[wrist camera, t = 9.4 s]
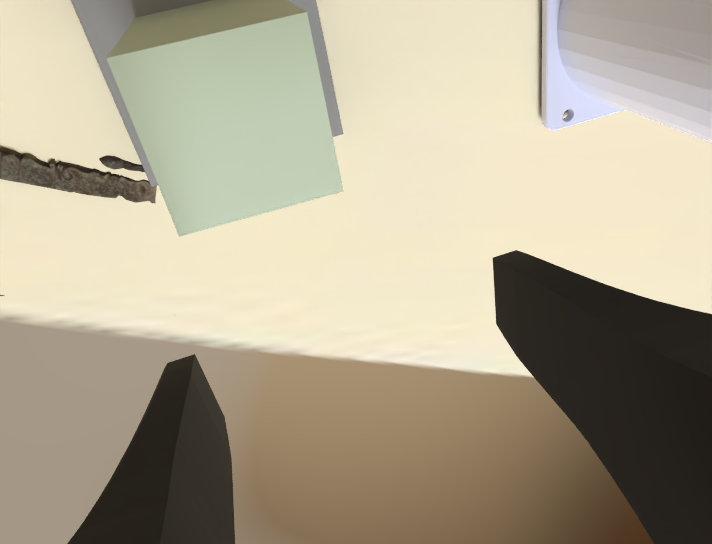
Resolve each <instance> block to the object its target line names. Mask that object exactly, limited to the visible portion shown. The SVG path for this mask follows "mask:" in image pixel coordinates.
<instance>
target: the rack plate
mask: <svg viewBox="0 0 712 544" xmlns="http://www.w3.org/2000/svg"><path fill="white" fill-rule="evenodd" d="M207 1H212V0H71V2H72V4H73V6H74V9H75V11H76V13H77V16H78V18H79V20H80V23H81V25H82V27H83V29H84V32H85V34H86V36H87V39H88V41H89V43H90V46H91V48H92V50H93V53H94V55H95V57H96V59H97V62H98V64H99V66H100V69H101V71H102V73H103V76H104V78H105V80H106V83H107V85H108V87H109V89H110V92H111V94H112V96H113V99H114V101H115V103H116V106H117V108H118V110H119V113H120V115H121V117H122V120H123V122H124V124H125V126H126V129H127V131H128V133H129V136H130V138H131V140H132V143H133V145H134V147H135V150H136V152H137V154H138V156H139V159H140V161H141V163H142V166H143V168H144V170H145V173H146V175H147V177H148V180H149V182H150V184H151V186H152V187H153V186H157V185H158V183H157V181H156V178H155V176H154V173H153V171H152V168H151V166H150V164H149V161H148V159H147V156H146V154H145V151H144V149H143V147H142V144H141V142H140V139H139V137H138V134H137V132H136V129H135V127H134V125H133V122H132V120H131V117H130V115H129V112H128V110H127V107H126V105H125V103H124V100H123V98H122V95H121V93H120V90H119V88H118V85H117V83H116V81H115V78H114V76H113V73H112V71H111V68H110V66H109V63H108V61H107V59H106V58H107V57H108V55H109V54H110V52H111V51H112V50H113V48H114V47H115V45H116V44H117V43H118V41H119V40H120V38H121V37H122V36H123V34H124V33H125V31H126V30H127V29H128V27H129V26H130V24H131V23H132V22H133V20H134V19H135V18H136V17H140V16H144V15H149V14H153V13H158V12H162V11H167V10H171V9H176V8H180V7H185V6H189V5H194V4H198V3H203V2H207ZM287 1H289V2H290V3H292V4H294V5H296V6H297V7H299V8H301V9H303V10H305V11H306V12H307V14H308V19H309V24H310V29H311V34H312V39H313V44H314V48H315V53H316V58H317V63H318V68H319V73H320V78H321V83H322V88H323V93H324V98H325V102H326V107H327V112H328V117H329V122H330V127H331V132H332V137H334V136H338V135H342V134H343V130H342V125H341V120H340V115H339V110H338V106H337V101H336V96H335V91H334V86H333V81H332V76H331V71H330V67H329V62H328V57H327V52H326V47H325V42H324V37H323V32H322V28H321V23H320V18H319V13H318V8H317V3H316V0H287Z"/></svg>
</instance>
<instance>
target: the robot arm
mask: <svg viewBox="0 0 712 544" xmlns="http://www.w3.org/2000/svg"><path fill="white" fill-rule="evenodd" d="M566 110H568V111H569V112H568V115H567V116H566V118H564V119H563V118H562V117H563V114H564V112H565V111H566ZM624 110H626V111H628V112H631V113H634V114H636V115H639V116H642V117H644V118H647V119H650V120H652V121H655V122H657V123H660V124H663V125H665V126H668V127H671V128H673V129H676V130H679V131H681V132H684V133H686V134H689V135H692V136H694V137H697V138H700V139H702V140H705V141H708V142H710V143H712V0H542V124H543V125H544V127H546V128H548V129H550V130H558V129H562V128H565V127H569V126H572V125H576V124H579V123H582V122H586V121H589V120H593V119H596V118H600V117H603V116H607V115H610V114H614V113H617V112H621V111H624ZM493 270H494V288H495V307H496V324H497V326H498V327H499V329H500V331H501V332H502V334H503V335H504V337H505V339H506V340H507V342H508V344H509V345H510V347H511V348H512V350H513V351H514V353H515V354H516V356H517V357H518V358H519V360H520V361H521V362H522V363H523V364H524V366H525V367H526V368H527V369H528V370H529V372H530V373H531V374H532V375H533V376H534V378H535V379H536V380H537V381H538V382H539V383H540V385H541V386H542V387H543V388H544V389H545V390H546V392H547V393H548V394H549V395H550V396H551V398H552V399H553V400H554V401H555V402H556V403H557V405H558V406H559V407H560V408H561V409H562V410H563V412H565V414H566V415H567V416H568V417H569V419H570V420H571V421H572V422H573V423H574V424H575V426H576V427H577V428H578V430H579V431H580V432H581V433H582V435H583V436H584V437H585V439H586V440H587V441H588V442H589V444H590V446H591V447H592V449H593V450H594V451H595V453H596V454H597V456H598V457H599V459H600V460H601V461H602V463H603V465H604V466H605V467H606V469H607V470H608V472H609V473H610V475H611V476H612V478H613V479H614V480H615V482H616V484H617V485H618V487H619V488H620V490H621V492H622V493H623V494H624V496H625V498H626V499H627V501H628V502H629V504H630V505H631V507H632V508H633V510H634V511H635V513H636V515H637V516H638V518H639V520H640V521H641V523H642V524H643V526H644V528H645V529H646V531H647V533H648V534H649V536H650V538H651V539H652V541H653V542H654V544H712V314H708V313H704V312H699V311H694V310H690V309H686V308H682V307H678V306H674V305H670V304H666V303H663V302H659V301H655V300H652V299H648V298H645V297H642V296H639V295H636V294H633V293H629V292H626V291H623V290H620V289H617V288H614V287H611V286H609V285H606V284H603V283H600V282H597V281H595V280H592V279H589V278H587V277H584V276H582V275H579V274H576V273H574V272H571V271H569V270H566V269H564V268H561V267H559V266H556V265H554V264H551V263H549V262H546V261H544V260H541V259H539V258H536V257H534V256H531V255H528V254H526V253H523V252H520V251H517V250H516V251H512V252H509V253H506V254H503V255H500V256H497V257H494V258H493ZM233 509H234V508H233V483H232V462H231V453H230V447H229V440H228V434H227V429H226V423H225V418H224V415H223V413H222V411H221V409H220V407H219V404H218V403H217V400H216V398H215V396H214V394H213V392H212V390H211V388H210V385H209V383H208V381H207V379H206V377H205V375H204V373H203V371H202V369H201V367H200V364H199V362H198V360H197V358H196V356H195V354H194V355H191V356H188V357H185V358H182V359H179V360H176V361H173V362H170V363H168V364H167V365H166V367H165V369H164V371H163V373H162V375H161V378H160V380H159V382H158V385H157V387H156V389H155V392H154V394H153V396H152V398H151V400H150V403H149V405H148V407H147V409H146V412H145V414H144V416H143V418H142V420H141V422H140V424H139V426H138V428H137V430H136V432H135V434H134V436H133V438H132V441H131V442H130V444H129V446H128V448H127V450H126V452H125V454H124V455H123V457H122V459H121V461H120V463H119V465H118V466H117V468H116V470H115V472H114V474H113V475H112V477H111V479H110V481H109V482H108V484H107V486H106V487H105V489H104V491H103V492H102V494H101V496H100V497H99V499H98V501H97V502H96V504H95V505H94V507H93V508H92V510H91V511H90V513H89V514H88V516H87V517H86V519H85V521H84V522H83V523H82V525H81V526H80V528H79V529H78V530H77V532H76V533H75V534H74V536H73V537H72V538H71V540H70V541H69V542H68V544H235V534H234V533H235V532H234V510H233Z"/></svg>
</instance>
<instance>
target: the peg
mask: <svg viewBox="0 0 712 544" xmlns="http://www.w3.org/2000/svg"><path fill="white" fill-rule="evenodd" d="M106 59H107V61H108V63H109V66H110V68H111V71H112V73H113V76H114V78H115V81H116V83H117V85H118V88H119V90H120V93H121V95H122V98H123V100H124V103H125V105H126V107H127V110H128V112H129V115H130V117H131V120H132V122H133V125H134V127H135V129H136V132H137V134H138V137H139V139H140V142H141V144H142V147H143V149H144V151H145V154H146V156H147V159H148V161H149V164H150V166H151V168H152V171H153V173H154V176H155V178H156V181H157V183H158V186H159V188H160V190H161V193H162V195H163V198H164V200H165V203H166V205H167V208H168V210H169V212H170V215H171V217H172V220H173V222H174V225H175V227H176V230H177V232H178V234H179V236H183V235H186V234H190V233H194V232H197V231H201V230H205V229H208V228H212V227H215V226H219V225H223V224H226V223H230V222H233V221H237V220H241V219H244V218H248V217H252V216H255V215H259V214H262V213H266V212H270V211H273V210H277V209H280V208H284V207H288V206H291V205H295V204H299V203H302V202H306V201H309V200H313V199H317V198H320V197H324V196H327V195H331V194H335V193H338V192H342V191H343V186H342V181H341V176H340V171H339V166H338V161H337V156H336V151H335V147H334V142H333V137H332V132H331V127H330V122H329V117H328V112H327V107H326V102H325V98H324V93H323V88H322V83H321V78H320V73H319V68H318V63H317V58H316V53H315V48H314V44H313V39H312V34H311V29H310V24H309V19H308V14H307V12H306V11H305V10H303V9H301V8H299V7H297V6H296V5H294V4H292V3H290V2H289V1H287V0H212V1H207V2H203V3H198V4H194V5H189V6H185V7H180V8H176V9H171V10H167V11H162V12H158V13H153V14H149V15H144V16H140V17H136V18H135V19H134V20H133V22H132V23H131V24H130V26H129V27H128V29H127V30H126V31H125V33H124V34H123V36H122V37H121V38H120V40H119V41H118V43H117V44H116V45H115V47H114V48H113V50H112V51H111V52H110V54H109V55H108V57H107V58H106Z"/></svg>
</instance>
